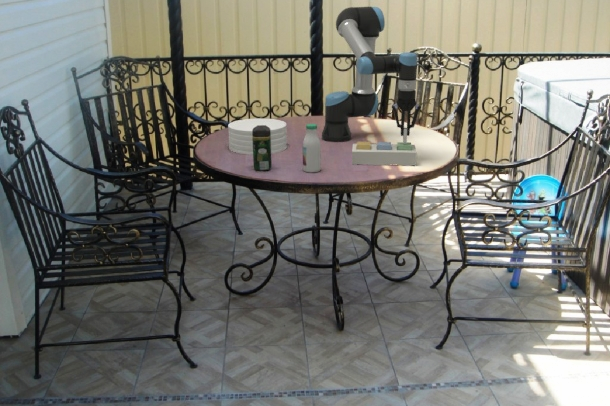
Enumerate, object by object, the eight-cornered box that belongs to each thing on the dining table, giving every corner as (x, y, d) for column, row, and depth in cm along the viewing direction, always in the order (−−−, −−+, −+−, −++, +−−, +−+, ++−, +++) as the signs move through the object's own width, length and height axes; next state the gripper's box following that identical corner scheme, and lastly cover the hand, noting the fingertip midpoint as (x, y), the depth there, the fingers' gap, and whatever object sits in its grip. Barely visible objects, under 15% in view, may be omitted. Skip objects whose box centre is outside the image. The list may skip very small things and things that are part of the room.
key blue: (377, 154, 293) (377, 145, 292) (377, 150, 299) (377, 141, 298) (390, 154, 293) (391, 145, 291) (390, 150, 298) (390, 142, 297)
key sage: (397, 154, 293) (398, 145, 291) (397, 150, 298) (397, 142, 297) (411, 154, 292) (411, 145, 291) (410, 151, 298) (410, 142, 296)
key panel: (351, 164, 292) (352, 151, 290) (352, 156, 305) (352, 143, 303) (416, 165, 289) (416, 152, 287) (414, 157, 303) (414, 144, 301)
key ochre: (356, 153, 294) (357, 144, 293) (357, 150, 300) (357, 141, 298) (370, 153, 294) (370, 145, 292) (370, 150, 299) (370, 141, 298)
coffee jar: (253, 165, 292) (252, 124, 285) (271, 165, 292) (270, 123, 286) (252, 171, 282) (251, 129, 276) (271, 171, 283) (270, 128, 277)
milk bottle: (322, 168, 286) (323, 123, 280) (317, 173, 279) (317, 127, 273) (306, 167, 289) (305, 122, 282) (300, 172, 282) (299, 125, 275)
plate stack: (254, 138, 341) (253, 116, 337) (298, 145, 325) (298, 122, 321) (217, 149, 319) (215, 126, 315) (262, 158, 304) (261, 133, 300)
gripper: (392, 90, 283) (390, 144, 290) (422, 91, 282) (420, 145, 289) (391, 88, 290) (389, 140, 298) (421, 88, 289) (419, 141, 296)
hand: (404, 142), depth 293 cm, fingers closed
